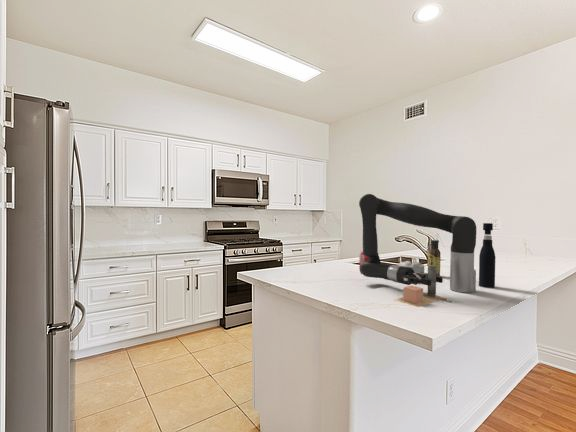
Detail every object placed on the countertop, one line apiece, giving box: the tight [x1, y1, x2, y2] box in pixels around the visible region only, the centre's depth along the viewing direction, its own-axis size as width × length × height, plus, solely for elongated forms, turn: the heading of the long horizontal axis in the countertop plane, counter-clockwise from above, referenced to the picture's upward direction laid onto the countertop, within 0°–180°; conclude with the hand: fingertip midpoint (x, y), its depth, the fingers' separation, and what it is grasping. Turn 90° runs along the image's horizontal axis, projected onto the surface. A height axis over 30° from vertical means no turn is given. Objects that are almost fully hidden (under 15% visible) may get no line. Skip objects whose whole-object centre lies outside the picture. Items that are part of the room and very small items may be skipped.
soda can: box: [358, 250, 369, 273], centre depth 174 cm, size 7×7×12 cm
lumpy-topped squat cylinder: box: [397, 260, 425, 273], centre depth 161 cm, size 10×13×9 cm
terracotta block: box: [402, 285, 424, 304], centre depth 115 cm, size 5×5×5 cm
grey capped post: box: [394, 264, 448, 308], centre depth 118 cm, size 20×10×13 cm, turn 126°
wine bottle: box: [478, 222, 496, 289], centre depth 145 cm, size 6×6×30 cm
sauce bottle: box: [427, 239, 442, 277], centre depth 167 cm, size 6×6×20 cm
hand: (436, 281), depth 121 cm, fingers open, 8 cm apart
